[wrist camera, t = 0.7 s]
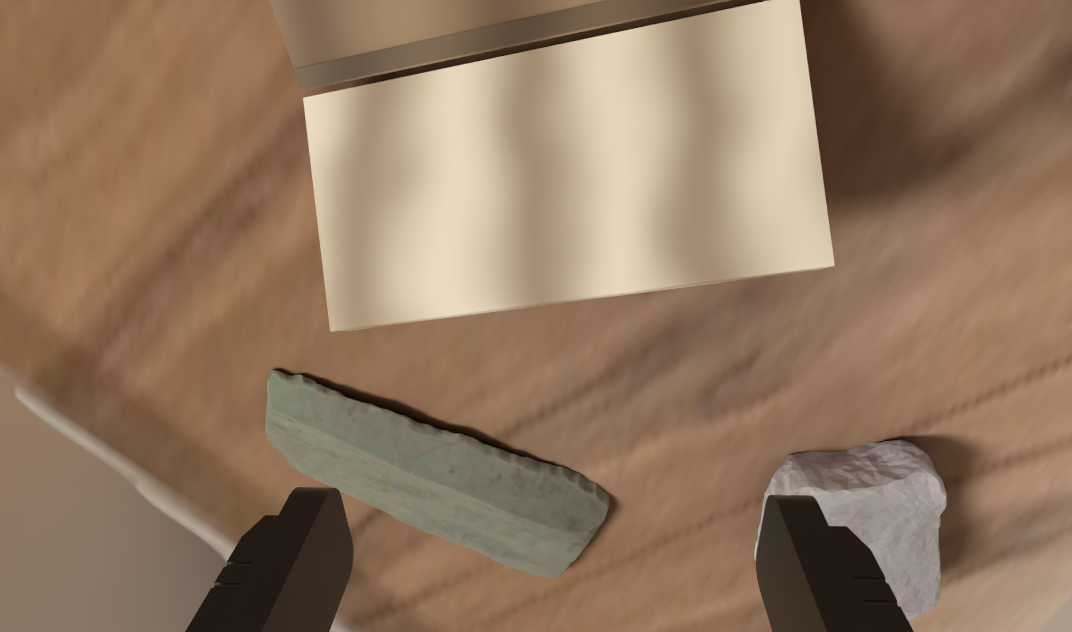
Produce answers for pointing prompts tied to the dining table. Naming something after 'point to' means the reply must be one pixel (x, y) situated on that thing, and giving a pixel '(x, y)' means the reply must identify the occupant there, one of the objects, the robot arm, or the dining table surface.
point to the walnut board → (434, 30)
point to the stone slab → (436, 477)
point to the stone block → (878, 509)
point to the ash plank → (573, 172)
